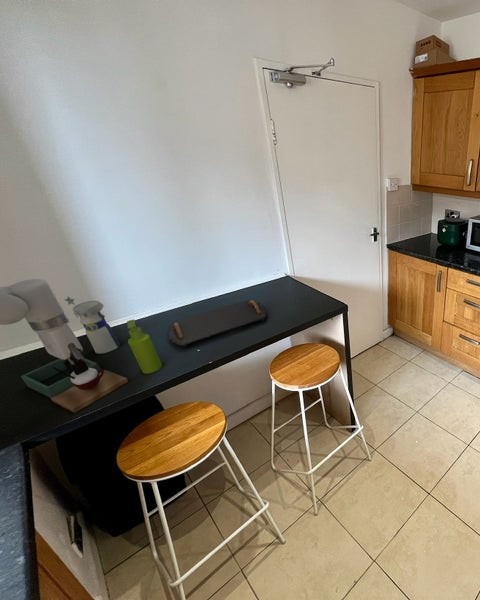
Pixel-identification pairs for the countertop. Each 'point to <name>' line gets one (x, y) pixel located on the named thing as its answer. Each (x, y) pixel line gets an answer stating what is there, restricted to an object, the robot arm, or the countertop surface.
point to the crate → (46, 372)
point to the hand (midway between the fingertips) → (78, 370)
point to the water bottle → (95, 326)
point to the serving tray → (215, 322)
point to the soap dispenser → (143, 349)
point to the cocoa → (84, 378)
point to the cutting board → (89, 392)
